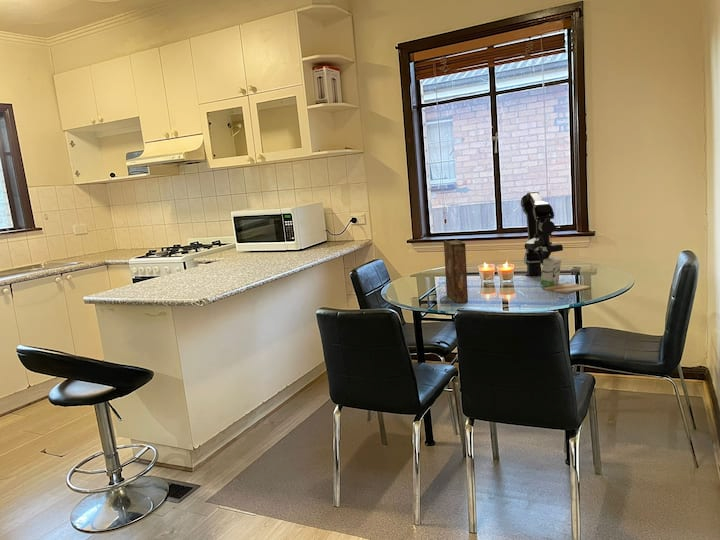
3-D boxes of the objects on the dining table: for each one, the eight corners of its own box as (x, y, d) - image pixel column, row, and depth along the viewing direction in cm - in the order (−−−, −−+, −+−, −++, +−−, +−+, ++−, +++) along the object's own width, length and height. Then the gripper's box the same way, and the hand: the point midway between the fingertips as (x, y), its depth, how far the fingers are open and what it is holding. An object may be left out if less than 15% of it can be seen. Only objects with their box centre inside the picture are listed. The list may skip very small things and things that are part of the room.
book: (468, 302, 227) (466, 243, 222) (456, 303, 226) (453, 244, 222) (458, 294, 243) (455, 239, 238) (446, 295, 242) (443, 240, 238)
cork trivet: (542, 288, 239) (542, 287, 239) (567, 283, 245) (567, 282, 245) (564, 293, 228) (564, 292, 227) (590, 288, 234) (590, 286, 233)
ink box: (550, 287, 241) (553, 262, 238) (539, 284, 244) (542, 259, 241) (558, 283, 247) (562, 258, 244) (548, 281, 250) (551, 256, 247)
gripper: (514, 232, 250) (516, 265, 252) (544, 234, 233) (544, 270, 235) (533, 229, 254) (534, 262, 257) (563, 231, 237) (564, 266, 240)
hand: (543, 265), depth 247 cm, fingers closed
